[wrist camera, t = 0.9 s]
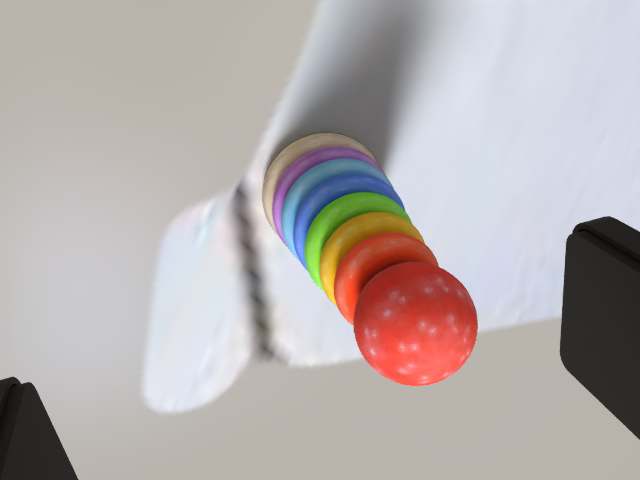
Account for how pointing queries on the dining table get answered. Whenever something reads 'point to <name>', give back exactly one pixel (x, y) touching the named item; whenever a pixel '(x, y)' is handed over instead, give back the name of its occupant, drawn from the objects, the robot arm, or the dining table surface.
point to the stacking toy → (369, 258)
